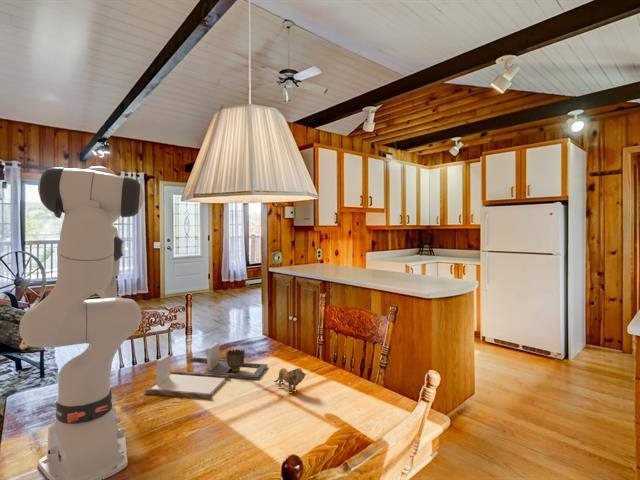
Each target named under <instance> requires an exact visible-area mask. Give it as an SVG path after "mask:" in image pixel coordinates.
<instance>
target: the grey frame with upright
mask: <svg viewBox="0 0 640 480" xmlns="http://www.w3.org/2000/svg"><path fill="white" fill-rule="evenodd" d="M206 352H207V353H206V354H207V355H206V356H207V357H206V358H207V362H206V370H205V371H204V372H203V373H206V374H219V375H230V378H235V379H246V378H249V379H248V380H259V378H260V377H261V376H260V375H262V374H263V373H264V372H265V371H266V369H267V368H268V364H267V363H254V362H253V363H252V362H244V363H243V365H242V366H241V367H250V366H257V367H256V370H255V372H254V373H253V374H241V373H230V372H232V371H231V368H230V367H229V366H228V363H227V361H219V359H220V342H214V343H212V345H210V346H209V347H207V350H206ZM266 367H267V368H266ZM264 370H265V371H264ZM263 371H264V372H263ZM262 372H263V373H262ZM259 376H260V377H259Z"/></svg>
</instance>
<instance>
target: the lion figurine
mask: <svg viewBox="0 0 640 480" xmlns="http://www.w3.org/2000/svg"><path fill="white" fill-rule="evenodd" d="M305 377H306V373H305V372H304V371H303V370H302V368H300V367H298V368H294V369H293V370H289V371H288V369H286V368H285V367H284V368H283V367H282V368H281V369H279V371H278V378H277V379H276V380H274V383H278V388H279V387H281V386H282V385H281V382H284V383H287V385H288V393H289V392H292V393H293V390H295V389H296V387H297V386H298V385H299V384H301V383H302V382H303V380H304V379H305Z"/></svg>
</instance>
